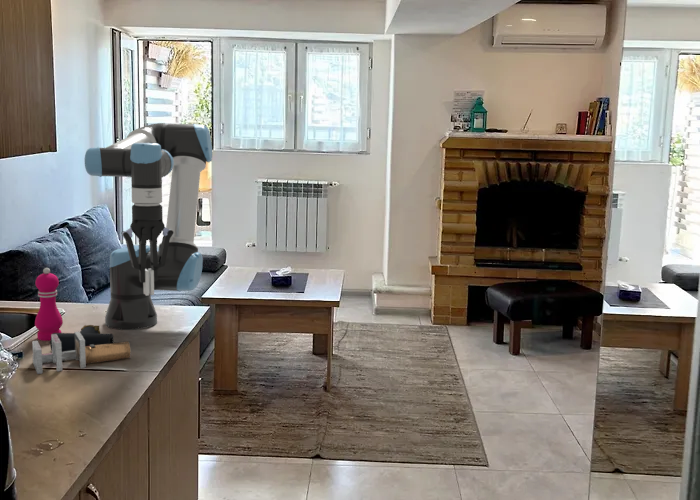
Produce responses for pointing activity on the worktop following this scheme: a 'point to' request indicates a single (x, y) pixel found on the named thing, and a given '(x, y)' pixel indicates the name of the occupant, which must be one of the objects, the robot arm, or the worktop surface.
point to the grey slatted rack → (59, 353)
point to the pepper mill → (47, 306)
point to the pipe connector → (90, 336)
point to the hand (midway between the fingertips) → (148, 293)
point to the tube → (107, 352)
